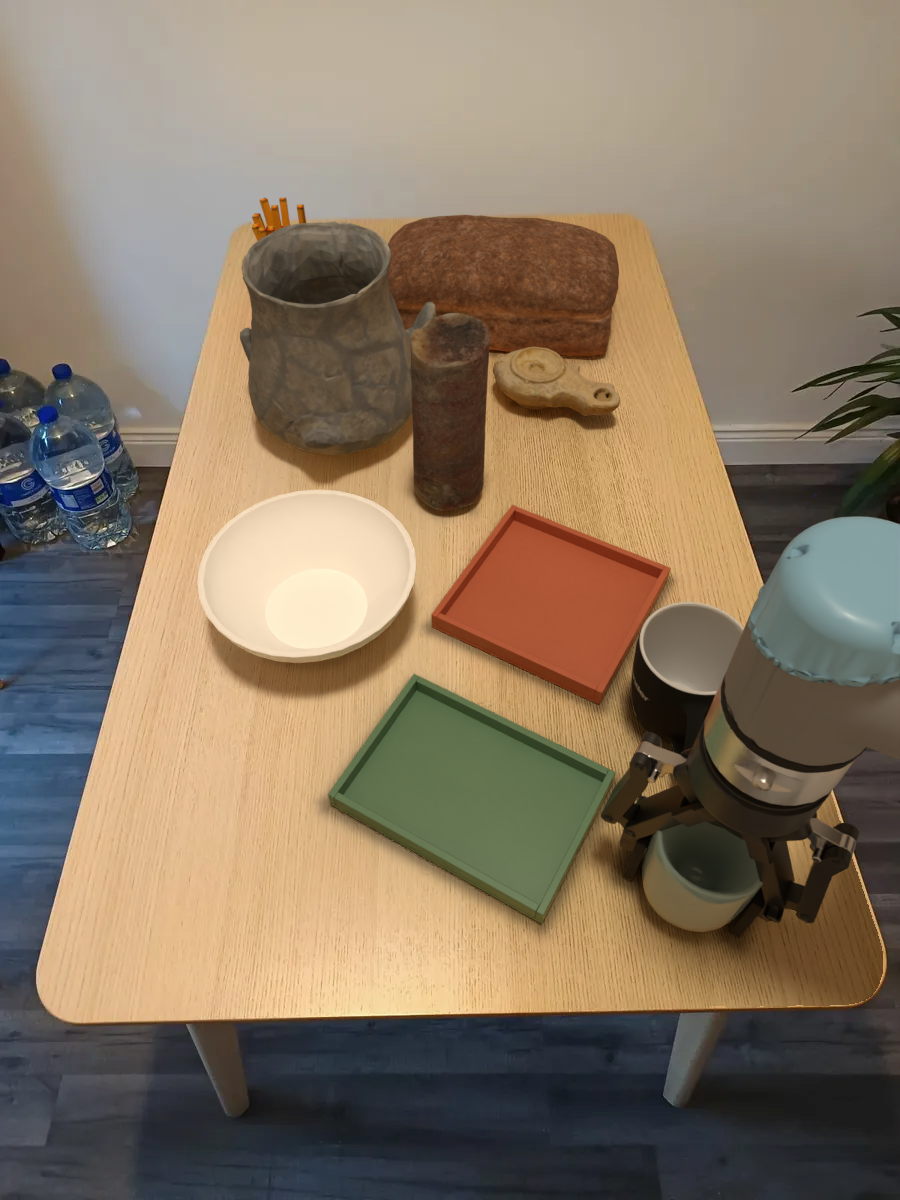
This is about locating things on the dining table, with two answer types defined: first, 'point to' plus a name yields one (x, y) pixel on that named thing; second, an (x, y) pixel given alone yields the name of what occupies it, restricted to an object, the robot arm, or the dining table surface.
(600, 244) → the bread
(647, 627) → the mug
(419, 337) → the candle
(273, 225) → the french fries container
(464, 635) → the terracotta tray
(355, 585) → the bowl
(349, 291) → the vessel
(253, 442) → the dining table surface
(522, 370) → the oil lamp
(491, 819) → the green tray
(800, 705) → the robot arm
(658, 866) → the cup
